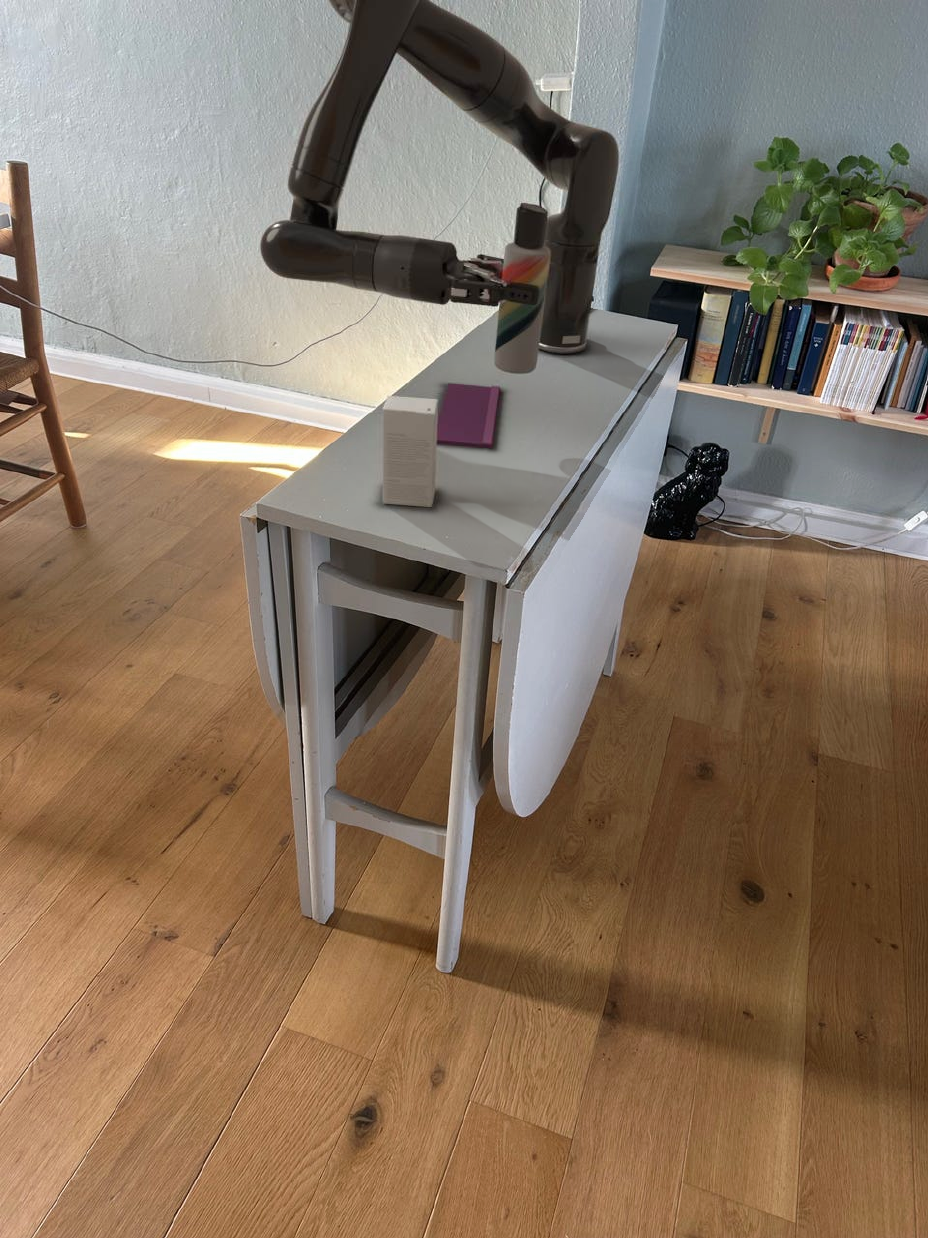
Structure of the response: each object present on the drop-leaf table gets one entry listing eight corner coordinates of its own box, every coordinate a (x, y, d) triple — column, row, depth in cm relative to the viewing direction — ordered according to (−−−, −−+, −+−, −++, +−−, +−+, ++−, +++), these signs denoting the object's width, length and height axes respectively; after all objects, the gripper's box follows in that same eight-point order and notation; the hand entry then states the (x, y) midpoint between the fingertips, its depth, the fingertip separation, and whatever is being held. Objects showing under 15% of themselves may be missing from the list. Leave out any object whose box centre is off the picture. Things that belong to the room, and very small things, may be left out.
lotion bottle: (493, 356, 121) (509, 197, 109) (535, 360, 121) (555, 201, 109) (493, 372, 116) (509, 207, 104) (536, 376, 117) (557, 212, 105)
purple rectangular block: (448, 385, 136) (448, 381, 135) (500, 390, 136) (500, 386, 135) (433, 442, 120) (433, 438, 119) (492, 448, 120) (493, 443, 119)
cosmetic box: (435, 491, 109) (439, 398, 102) (432, 508, 106) (436, 413, 98) (386, 487, 109) (387, 393, 102) (381, 504, 106) (381, 409, 99)
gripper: (398, 252, 107) (536, 272, 104) (432, 225, 118) (557, 244, 115) (396, 314, 111) (528, 336, 109) (430, 283, 123) (550, 302, 120)
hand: (543, 288), depth 112 cm, fingers closed on lotion bottle, 5 cm apart
